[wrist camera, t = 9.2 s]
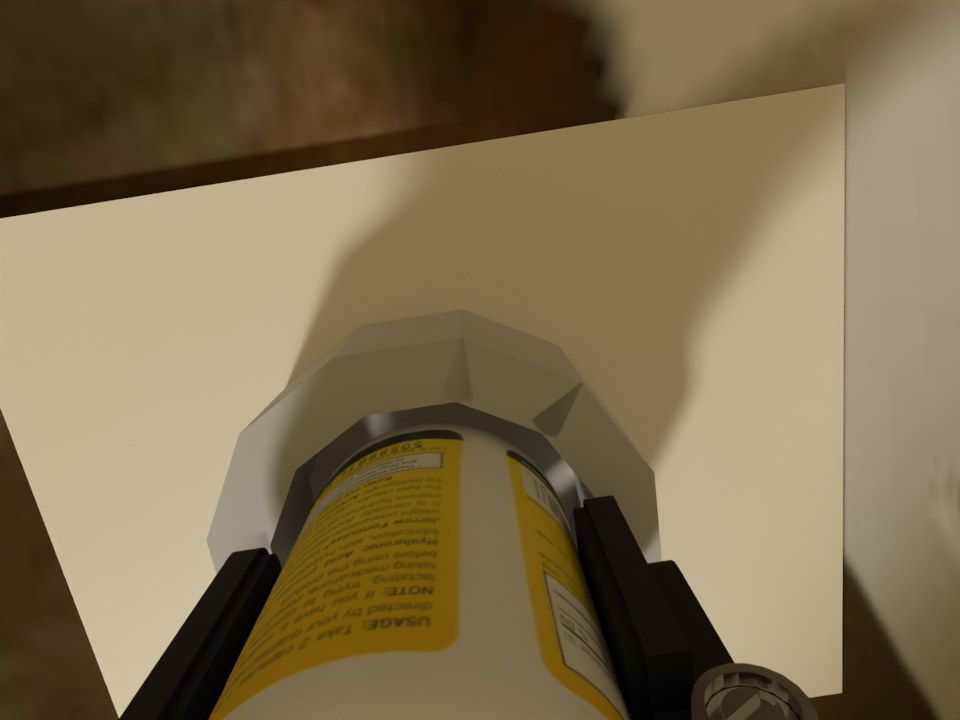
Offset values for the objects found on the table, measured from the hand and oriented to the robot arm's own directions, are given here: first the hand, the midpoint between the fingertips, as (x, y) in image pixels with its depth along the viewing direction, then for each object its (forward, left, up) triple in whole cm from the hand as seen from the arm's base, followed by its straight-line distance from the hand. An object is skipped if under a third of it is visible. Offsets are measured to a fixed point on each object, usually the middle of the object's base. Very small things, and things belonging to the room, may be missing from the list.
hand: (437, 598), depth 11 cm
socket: (0, 0, -5) cm, 5 cm away
